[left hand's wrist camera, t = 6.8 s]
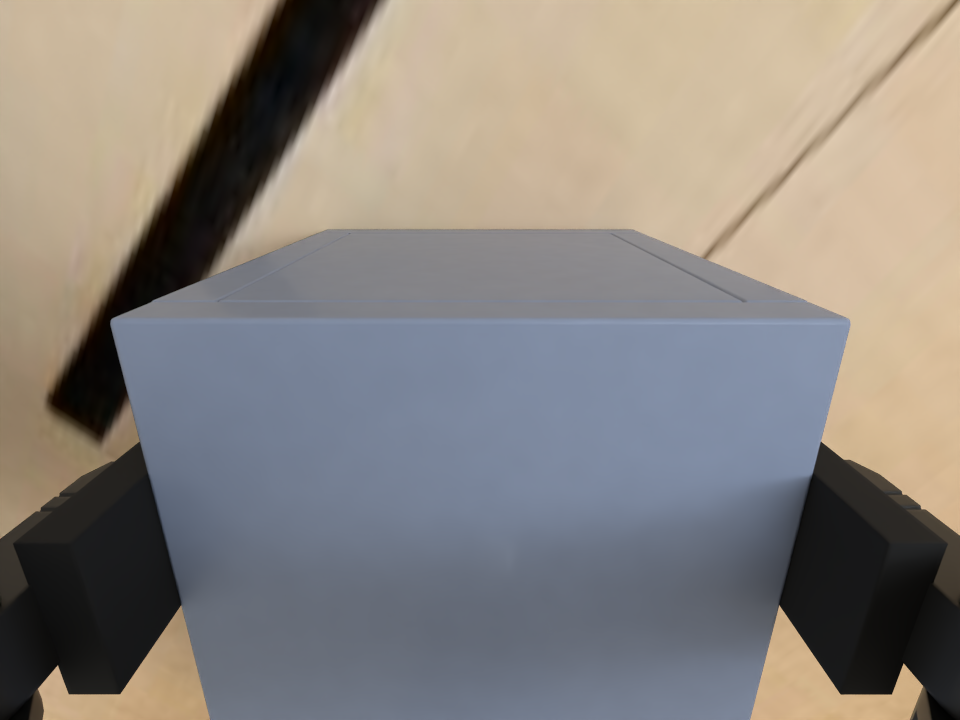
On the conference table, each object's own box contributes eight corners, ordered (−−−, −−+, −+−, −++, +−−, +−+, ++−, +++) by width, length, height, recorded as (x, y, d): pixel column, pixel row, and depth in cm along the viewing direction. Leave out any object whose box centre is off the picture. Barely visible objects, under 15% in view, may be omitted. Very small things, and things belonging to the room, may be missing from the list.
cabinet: (595, 616, 24) (687, 972, 13) (364, 616, 24) (272, 972, 13) (634, 229, 18) (856, 318, 7) (326, 229, 18) (104, 318, 7)
